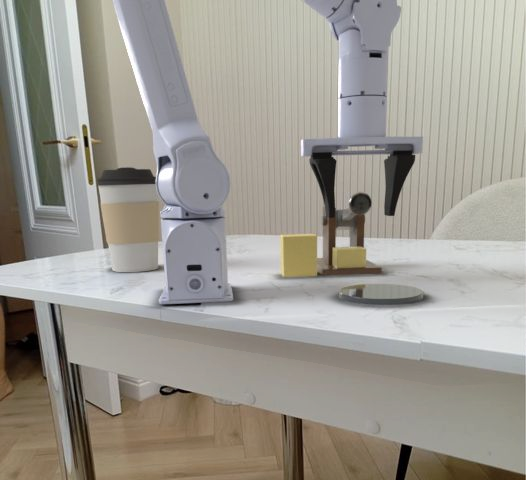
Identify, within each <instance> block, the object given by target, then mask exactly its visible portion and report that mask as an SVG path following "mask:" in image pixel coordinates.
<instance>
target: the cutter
mask: <svg viewBox="0 0 526 480" xmlns="http://www.w3.org/2000/svg"><path fill="white" fill-rule="evenodd" d="M336 210H337V207H335V218H328V217H326V211H325V206H322V215H321V218H320V222H321V226H322V257H317V273H319V275H321V276H325V277H326V276H349V275H375V274H376V275H378V274H382V267H381V266H379V265H377V264H375V263H374V262H372V261H369V260H367V259H366V267H363V268H336V267H334V266H333V265H332V256H333V247H337V246H336V241H337V239H336V237H337V236H336V234H337V230H336ZM365 224H366V214H364V215H356V216H354V217H353V227H352V228H350V229H349V247H359V246H361V247H363V248H365Z"/></svg>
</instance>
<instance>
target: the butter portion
mask: <svg viewBox="0 0 526 480" xmlns="http://www.w3.org/2000/svg"><path fill="white" fill-rule="evenodd" d="M317 258H318V235H317V234H315V233H294V234H293V233H292V234H291V233H290V234H280V275H281V276H282V277H283V278H297V277H298V278H299V277H318V271H317Z"/></svg>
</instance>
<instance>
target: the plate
mask: <svg viewBox="0 0 526 480" xmlns="http://www.w3.org/2000/svg"><path fill="white" fill-rule="evenodd" d="M338 298H339V299H340V300H342V301H345V302H349V303H354V304H359V305H372V306H373V305H374V306H377V305H378V306H392V305H408V304H412V303H416V302H419V301H422V300H423V299H424V290H423V289H421V288H418V287H416V286H410V285H405V284H396V283H363V284H355V285H349V286H345V287H342V288H340V289H339V290H338Z"/></svg>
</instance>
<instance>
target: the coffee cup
mask: <svg viewBox="0 0 526 480" xmlns="http://www.w3.org/2000/svg"><path fill="white" fill-rule="evenodd" d="M96 181H97V183H96V186H98V192H99V197H100V211H101V216H102V222H103V228H104V233H105V241H106V243H107V245H108V246H107V247H108V252H109V259H110V264H111V269H112V271H113V272H117V273H137V272H138V273H139V272H140V273H141V272H149V271H154V270H157V269H159V242H160V201H159V195H158V193H157V190H156V176H154V174H153V172H152V170H151V169H149V168H135V167H133V166H132V167H131V166H130V167H129V166H127V167H118V168H116V169H103V170H102V173H101V176H100V177H97V178H96Z"/></svg>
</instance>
